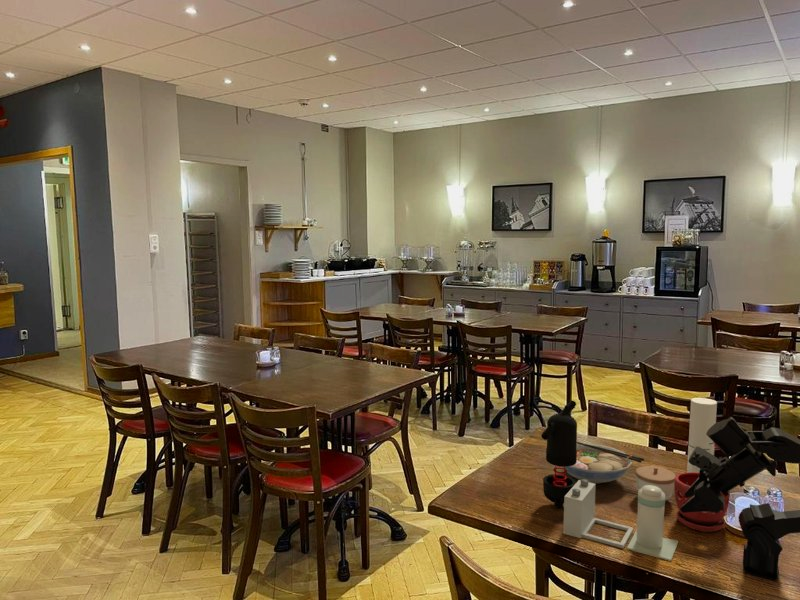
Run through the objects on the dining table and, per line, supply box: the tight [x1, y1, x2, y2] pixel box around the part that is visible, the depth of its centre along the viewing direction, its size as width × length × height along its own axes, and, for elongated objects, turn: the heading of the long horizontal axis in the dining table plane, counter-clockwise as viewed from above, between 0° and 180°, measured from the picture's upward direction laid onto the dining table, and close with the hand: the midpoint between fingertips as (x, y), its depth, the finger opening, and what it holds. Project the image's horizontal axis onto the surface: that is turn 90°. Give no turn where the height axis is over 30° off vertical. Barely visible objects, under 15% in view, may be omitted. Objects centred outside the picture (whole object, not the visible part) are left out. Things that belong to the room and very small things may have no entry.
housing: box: [563, 479, 635, 550], centre depth 156 cm, size 15×12×11 cm
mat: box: [626, 529, 679, 562], centre depth 150 cm, size 10×10×1 cm
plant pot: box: [673, 471, 731, 533], centre depth 160 cm, size 13×13×12 cm
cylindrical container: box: [686, 397, 718, 473], centre depth 187 cm, size 7×7×25 cm
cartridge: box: [636, 485, 666, 549], centre depth 149 cm, size 6×6×14 cm
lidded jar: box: [635, 465, 677, 502], centre depth 175 cm, size 11×11×9 cm
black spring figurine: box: [540, 400, 578, 509], centre depth 168 cm, size 14×9×30 cm
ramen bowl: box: [562, 441, 645, 485], centre depth 189 cm, size 25×23×8 cm
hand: (683, 502), depth 145 cm, fingers open, 9 cm apart
